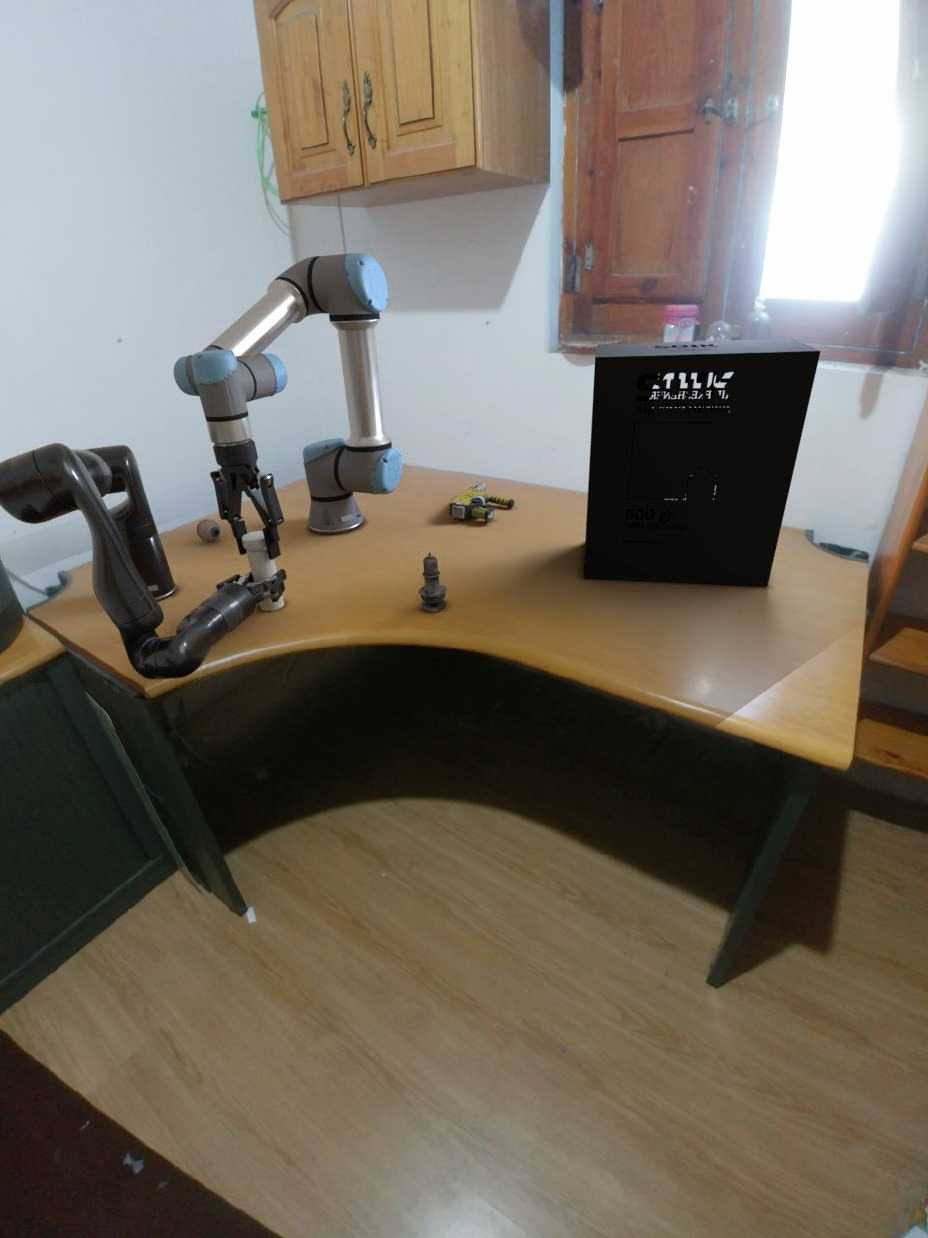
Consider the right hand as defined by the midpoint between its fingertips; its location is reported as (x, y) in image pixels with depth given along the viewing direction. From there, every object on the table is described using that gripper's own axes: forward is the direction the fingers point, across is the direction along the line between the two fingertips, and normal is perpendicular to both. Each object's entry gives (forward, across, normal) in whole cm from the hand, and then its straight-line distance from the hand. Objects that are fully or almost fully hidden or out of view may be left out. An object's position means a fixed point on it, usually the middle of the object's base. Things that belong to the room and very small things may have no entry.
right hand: (260, 554), depth 124 cm
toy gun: (+12, -22, -68) cm, 72 cm away
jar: (+12, 0, 0) cm, 12 cm away
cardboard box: (+12, -76, -47) cm, 90 cm away
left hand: (+5, 0, -2) cm, 6 cm away
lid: (-4, 0, 0) cm, 4 cm away
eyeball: (+12, +41, -24) cm, 49 cm away
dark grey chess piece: (+12, -33, -11) cm, 37 cm away
